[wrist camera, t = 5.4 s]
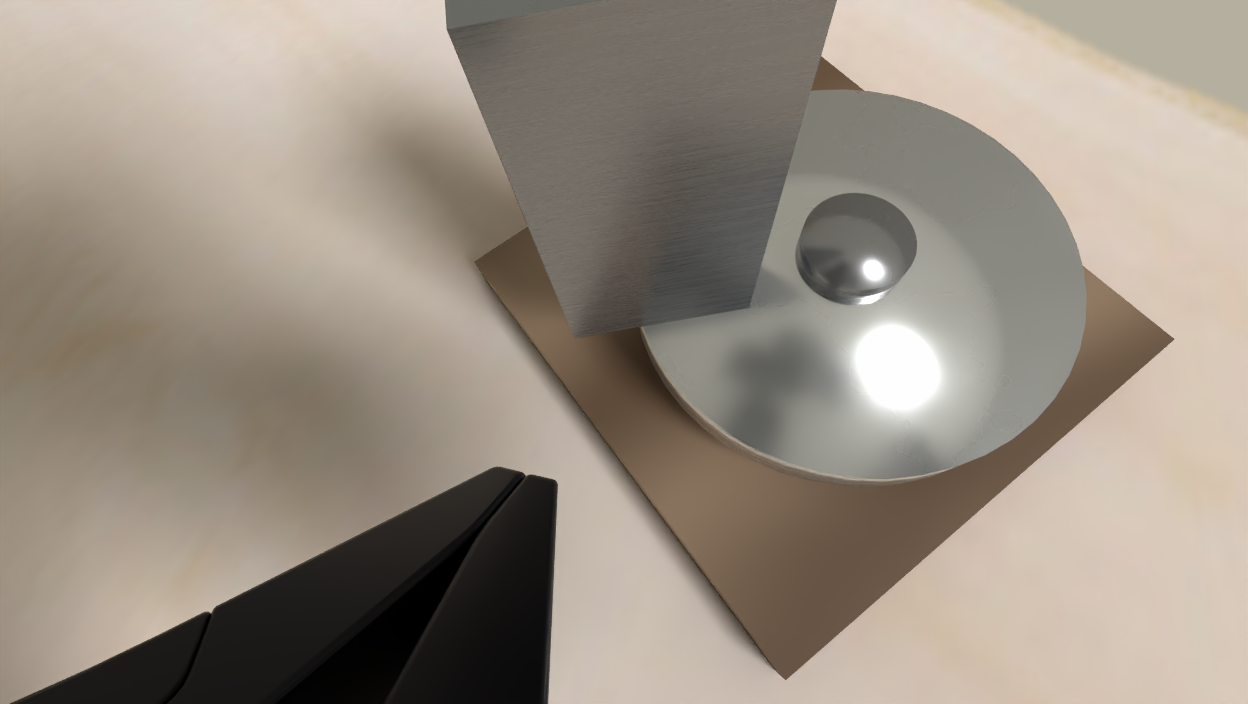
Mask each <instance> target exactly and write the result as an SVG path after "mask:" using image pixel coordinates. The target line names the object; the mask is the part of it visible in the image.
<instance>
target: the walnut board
mask: <svg viewBox="0 0 1248 704" xmlns="http://www.w3.org/2000/svg"><path fill="white" fill-rule="evenodd" d="M842 89H843V90H858V91H864V90H863V89H861V88H860V87H859V86H858V85H856V84H855V83H854V82H853V81H851V80H850V79H849V78H848V77H846V76H845V75H844V74H843V73H841V72H840V71H839V70H838V69H836V68H835V67H834V66H833V65H831V64H830V63H829V62H828V61H826V60H825V59H824V58H823V57H820V61H819V64H818V68H817V71H816V75H815V78H814V82H813V85H812V89H811V91H815V90H842ZM475 264H476V265H477V267H478V268H479V270H480V272H481V273H482V275H483V276H484V278H485V279H486V281H487V282H488V283H489V285H490V286H491V287H492V289H493V290H494V291H495V293H496V294H497V295H498V297H499V298H500V300H501V301H502V302H503V304H504V305H505V306H506V308H507V309H508V310H509V312H510V313H511V314H512V316H513V317H514V318H515V320H516V321H517V322H518V324H519V325H520V326H521V328H522V329H523V331H524V332H525V333H526V335H527V336H528V337H529V339H530V340H531V341H532V343H533V344H534V345H535V347H536V348H537V349H538V351H539V352H540V353H541V355H542V356H543V357H544V359H545V360H546V361H547V363H548V364H549V366H550V367H551V368H552V370H553V371H554V372H555V374H556V375H557V376H558V378H559V379H560V380H561V382H562V383H563V384H564V386H565V387H566V388H567V390H568V391H569V392H570V394H571V395H572V397H573V398H574V399H575V401H576V402H577V403H578V405H579V406H580V407H581V409H582V410H583V411H584V413H585V414H586V415H587V417H588V418H589V419H590V421H591V422H592V423H593V425H594V426H595V427H596V429H597V430H598V432H599V433H600V434H601V436H602V437H603V438H604V440H605V441H606V442H607V444H608V445H609V446H610V448H611V449H612V450H613V452H614V453H615V454H616V456H617V457H618V458H619V460H620V461H621V463H622V464H623V465H624V467H625V468H626V469H627V471H628V472H629V473H630V475H631V476H632V477H633V479H634V480H635V481H636V483H637V484H638V485H639V487H640V488H641V489H642V491H643V492H644V493H645V495H646V496H647V498H648V499H649V500H650V502H651V503H652V504H653V506H654V507H655V508H656V510H657V511H658V512H659V514H660V515H661V516H662V518H663V519H664V520H665V522H666V523H667V524H668V526H669V527H670V528H671V530H672V531H673V533H674V534H675V535H676V537H677V538H678V539H679V541H680V542H681V543H682V545H683V546H684V547H685V549H686V550H687V551H688V553H689V554H690V555H691V557H692V558H693V559H694V561H695V562H696V564H697V565H698V566H699V568H700V569H701V570H702V572H703V573H704V574H705V576H706V577H707V578H708V580H709V581H710V582H711V584H712V585H713V586H714V588H715V589H716V590H717V592H718V593H719V594H720V596H721V597H722V599H723V600H724V601H725V603H726V604H727V605H728V607H729V608H730V609H731V611H732V612H733V613H734V615H735V616H736V617H737V619H738V620H739V621H740V623H741V624H742V625H743V627H744V628H745V630H746V631H747V632H748V634H749V635H750V636H751V638H752V639H753V640H754V642H755V643H756V644H757V646H758V647H759V648H760V650H761V651H762V652H763V654H764V655H765V656H766V658H767V659H768V660H769V662H770V663H771V665H772V666H773V667H774V669H775V670H776V671H777V673H778V674H779V675H781V676H782V677H783V678H784V679H785V680H786V679H788V678H789V677H790V676H791V675H792V674H793V673H794V672H796V671H797V670H798V669H799V668H800V667H801V666H802V665H804V664H805V663H806V662H807V661H808V660H809V659H810V658H812V657H813V656H814V655H815V654H816V653H817V652H818V651H820V650H821V649H822V648H823V647H824V646H825V645H826V644H828V643H829V642H830V641H831V640H832V639H833V638H834V637H836V636H837V635H838V634H839V633H840V632H841V631H842V630H844V629H845V628H846V627H847V626H848V625H849V624H850V623H851V622H853V621H854V620H855V619H856V618H857V617H858V616H859V615H861V614H862V613H863V612H864V611H865V610H866V609H867V608H869V607H870V606H871V605H872V604H873V603H874V602H875V601H877V600H878V599H879V598H880V597H881V596H882V595H883V594H885V593H886V592H887V591H888V590H889V589H890V588H891V587H893V586H894V585H895V584H896V583H897V582H898V581H899V580H901V579H902V578H903V577H904V576H905V575H906V574H907V573H908V572H910V571H911V570H912V569H913V568H914V567H915V566H916V565H918V564H919V563H920V562H921V561H922V560H923V559H924V558H926V557H927V556H928V555H929V554H930V553H931V552H932V551H934V550H935V549H936V548H937V547H938V546H939V545H940V544H942V543H943V542H944V541H945V540H946V539H947V538H948V537H950V536H951V535H952V534H953V533H954V532H955V531H956V530H958V529H959V528H960V527H961V526H962V525H963V524H964V523H966V522H967V521H968V520H969V519H970V518H971V517H972V516H973V515H975V514H976V513H977V512H978V511H979V510H980V509H981V508H983V507H984V506H985V505H986V504H987V503H988V502H989V501H991V500H992V499H993V498H994V497H995V496H996V495H997V494H999V493H1000V492H1001V491H1002V490H1003V489H1004V488H1005V487H1007V486H1008V485H1009V484H1010V483H1011V482H1012V481H1013V480H1015V479H1016V478H1017V477H1018V476H1019V475H1020V474H1021V473H1023V472H1024V471H1025V470H1026V469H1027V468H1028V467H1029V466H1031V465H1032V464H1033V463H1034V462H1035V461H1036V460H1037V459H1038V458H1040V457H1041V456H1042V455H1043V454H1044V453H1045V452H1046V451H1048V450H1049V449H1050V448H1051V447H1052V446H1053V445H1054V444H1056V443H1057V442H1058V441H1059V440H1060V439H1061V438H1062V437H1064V436H1065V435H1066V434H1067V433H1068V432H1069V431H1070V430H1072V429H1073V428H1074V427H1075V426H1076V425H1077V424H1078V423H1080V422H1081V421H1082V420H1083V419H1084V418H1085V417H1086V416H1088V415H1089V414H1090V413H1091V412H1092V411H1093V410H1094V409H1096V408H1097V407H1098V406H1099V405H1100V404H1101V403H1102V402H1103V401H1105V400H1106V399H1107V398H1108V397H1109V396H1110V395H1111V394H1113V393H1114V392H1115V391H1116V390H1117V389H1118V388H1119V387H1121V386H1122V385H1123V384H1124V383H1125V382H1126V381H1127V380H1129V379H1130V378H1131V377H1132V376H1133V375H1134V374H1135V373H1137V372H1138V371H1139V370H1140V369H1141V368H1142V367H1143V366H1145V365H1146V364H1147V363H1148V362H1149V361H1150V360H1151V359H1153V358H1154V357H1155V356H1156V355H1157V354H1158V353H1159V352H1160V351H1162V350H1163V349H1164V348H1165V347H1166V346H1167V345H1168V344H1170V343H1171V342H1172V341H1173V340H1174V338H1172V337H1171V336H1170V335H1169V334H1167V333H1166V332H1165V331H1164V330H1162V329H1161V328H1160V327H1159V326H1157V325H1156V324H1155V323H1154V322H1152V321H1151V320H1150V319H1149V318H1147V317H1146V316H1145V315H1144V314H1142V313H1141V312H1140V311H1139V310H1137V309H1136V308H1135V307H1134V306H1132V305H1131V304H1130V303H1129V302H1127V301H1126V300H1125V299H1124V298H1122V297H1121V296H1120V295H1119V294H1117V293H1116V292H1115V291H1114V290H1112V289H1111V288H1110V287H1109V286H1107V285H1106V284H1105V283H1104V282H1102V281H1101V280H1100V279H1099V278H1097V277H1096V276H1095V275H1094V274H1092V273H1091V272H1090V271H1089V270H1087V269H1086V268H1085V267H1084V266H1083V269H1084V277H1085V286H1086V295H1087V300H1086V322H1085V327H1084V332H1083V337H1082V341H1081V346H1080V350H1079V353H1078V355H1077V357H1076V360H1075V362H1074V365H1073V367H1072V370H1071V372H1070V375H1069V376H1068V378H1067V380H1066V381H1065V383H1064V385H1063V386H1062V388H1061V389H1060V391H1059V393H1058V394H1057V396H1056V397H1055V399H1054V400H1053V401H1052V402H1051V403H1050V405H1049V406H1048V407H1047V408H1046V409H1045V410H1044V411H1043V413H1042V414H1041V415H1040V416H1039V417H1038V418H1037V419H1036V420H1035V421H1034V422H1033V423H1032V424H1031V425H1029V426H1028V427H1027V428H1026V429H1024V430H1023V431H1022V432H1021V433H1020V434H1018V435H1017V436H1016V437H1015V438H1013V439H1012V440H1010V441H1009V442H1007V443H1005V444H1004V445H1002V446H1000V447H998V448H997V449H995V450H993V451H992V452H990V453H988V454H986V455H984V456H982V457H979V458H977V459H974V460H972V461H969V462H967V463H964V464H962V465H959V466H957V467H954V468H952V469H949V470H947V471H944V472H941V473H939V474H936V475H934V476H931V477H927V478H923V479H919V480H915V481H911V482H907V483H902V484H894V485H884V486H875V487H859V486H837V485H831V484H824V483H818V482H812V481H807V480H804V479H800V478H797V477H793V476H790V475H786V474H783V473H779V472H777V471H775V470H772V469H770V468H768V467H765V466H763V465H761V464H758V463H756V462H754V461H751V460H750V459H748V458H746V457H745V456H743V455H741V454H739V453H738V452H736V451H734V450H732V449H731V448H729V447H727V446H726V445H724V444H723V443H722V442H720V441H719V440H718V439H716V438H715V437H714V436H712V435H711V434H710V433H709V432H707V431H706V430H705V429H703V428H702V427H701V426H700V425H699V424H698V423H697V422H696V421H695V420H694V419H693V418H692V417H691V416H690V415H689V414H688V413H687V412H686V411H685V410H684V409H683V408H682V407H681V406H680V404H679V403H678V402H677V400H676V399H675V398H674V397H673V395H672V394H671V393H670V392H669V390H668V389H667V388H666V386H665V385H664V383H663V381H662V379H661V378H660V376H659V374H658V373H657V371H656V369H655V368H654V366H653V364H652V362H651V359H650V357H649V354H648V352H647V350H646V347H645V345H644V342H643V339H642V336H641V332H640V328H639V327H638V328H632V329H627V330H621V331H615V332H610V333H604V334H598V335H593V336H587V337H581V338H576V339H574V337H573V335H572V332H571V330H570V327H569V325H568V322H567V320H566V318H565V315H564V313H563V310H562V308H561V305H560V303H559V301H558V298H557V296H556V293H555V291H554V288H553V286H552V284H551V281H550V279H549V276H548V274H547V271H546V269H545V267H544V264H543V262H542V259H541V257H540V254H539V252H538V250H537V247H536V245H535V242H534V240H533V237H532V235H531V233H530V230H529V228H528V227H527V228H525V229H524V230H522V231H521V232H519V233H518V234H516V235H515V236H513V237H512V238H510V239H509V240H507V241H506V242H504V243H502V244H501V245H499V246H498V247H496V248H495V249H493V250H492V251H490V252H489V253H487V254H486V255H484V256H483V257H481V258H480V259H478V260H477V261H475Z"/></svg>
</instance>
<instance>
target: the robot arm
mask: <svg viewBox="0 0 1248 704" xmlns="http://www.w3.org/2000/svg"><path fill="white" fill-rule="evenodd" d="M557 492H558V484H557V482H556V481H555V480H553V479H549V478H545V477H541V476H536V475H527V476H525V474H524V473H522V472H519V471H515V470H511V469H507V468H503V467H494V468H491V469H489V470H487V471H485V472H483V473H481V474H479V475H477V476H475V477H473V478H471V479H469V480H467V481H465V482H463V483H461V484H459V485H457V486H455V487H453V488H451V489H449V490H447V491H445V492H443V493H441V494H439V495H437V496H435V497H433V498H431V499H429V500H427V501H425V502H423V503H421V504H419V505H417V506H415V507H413V508H411V509H409V510H407V511H405V512H403V513H401V514H399V515H397V516H395V517H393V518H391V519H389V520H387V521H385V522H383V523H381V524H379V525H377V526H375V527H373V528H371V529H369V530H367V531H365V532H363V533H361V534H359V535H357V536H355V537H353V538H351V539H349V540H347V541H345V542H343V543H341V544H339V545H337V546H335V547H333V548H331V549H329V550H327V551H325V552H323V553H321V554H319V555H317V556H315V557H313V558H311V559H309V560H307V561H305V562H304V563H302V564H300V565H298V566H296V567H294V568H292V569H290V570H288V571H286V572H284V573H282V574H280V575H278V576H276V577H274V578H272V579H270V580H268V581H266V582H264V583H262V584H260V585H258V586H256V587H254V588H252V589H250V590H248V591H246V592H244V593H242V594H240V595H238V596H236V597H234V598H232V599H230V600H228V601H226V602H224V603H222V604H220V605H218V606H216V607H215V608H214V609H213V611H212V614H211V613H210V612H203V613H201V614H199V615H197V616H195V617H193V618H191V619H189V620H187V621H185V622H183V623H181V624H179V625H177V626H175V627H173V628H171V629H169V630H167V631H165V632H163V633H161V634H159V635H157V636H155V637H153V638H151V639H149V640H147V641H145V642H143V643H141V644H139V645H136V646H134V647H132V648H130V649H128V650H126V651H124V652H122V653H120V654H118V655H116V656H114V657H112V658H109V659H107V660H105V661H103V662H101V663H99V664H97V665H95V666H93V667H91V668H89V669H86V670H84V671H82V672H80V673H77V674H75V675H73V676H71V677H68V678H66V679H64V680H62V681H59V682H57V683H55V684H53V685H51V686H48V687H46V688H44V689H42V690H39V691H37V692H35V693H33V694H30V695H28V696H26V697H24V698H21V699H19V700H17V701H15V702H12V703H10V704H548V694H549V672H550V649H551V627H552V604H553V582H554V559H555V537H556V514H557Z"/></svg>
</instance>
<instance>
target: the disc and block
mask: <svg viewBox="0 0 1248 704" xmlns="http://www.w3.org/2000/svg"><path fill="white" fill-rule="evenodd" d="M836 1H837V0H445V8H446V24H447V31H448V33H449V36H450V38H451V41H452V43H453V46H454V48H455V50H456V53H457V55H458V58H459V60H460V63H461V65H462V67H463V70H464V72H465V75H466V77H467V80H468V82H469V84H470V87H471V89H472V92H473V94H474V97H475V99H476V101H477V104H478V106H479V109H480V111H481V114H482V116H483V118H484V121H485V123H486V126H487V128H488V131H489V133H490V135H491V138H492V140H493V143H494V145H495V148H496V150H497V152H498V155H499V157H500V160H501V162H502V165H503V167H504V169H505V172H506V174H507V177H508V179H509V182H510V184H511V186H512V189H513V191H514V194H515V196H516V199H517V201H518V203H519V206H520V208H521V211H522V213H523V216H524V218H525V220H526V223H527V225H528V228H529V230H530V233H531V235H532V237H533V240H534V242H535V245H536V247H537V250H538V252H539V254H540V257H541V259H542V262H543V264H544V267H545V269H546V271H547V274H548V276H549V279H550V281H551V284H552V286H553V288H554V291H555V293H556V296H557V298H558V301H559V303H560V305H561V308H562V310H563V313H564V315H565V318H566V320H567V322H568V325H569V327H570V330H571V332H572V335H573V337H574V339H576V338H581V337H587V336H593V335H598V334H604V333H610V332H615V331H621V330H627V329H632V328H638V327H639V328H640V332H641V336H642V339H643V342H644V345H645V347H646V350H647V352H648V354H649V357H650V359H651V362H652V364H653V366H654V368H655V369H656V371H657V373H658V374H659V376H660V378H661V379H662V381H663V383H664V385H665V386H666V388H667V389H668V390H669V392H670V393H671V394H672V395H673V397H674V398H675V399H676V400H677V402H678V403H679V404H680V406H681V407H682V408H683V409H684V410H685V411H686V412H687V413H688V414H689V415H690V416H691V417H692V418H693V419H694V420H695V421H696V422H697V423H698V424H699V425H700V426H701V427H702V428H703V429H705V430H706V431H707V432H709V433H710V434H711V435H712V436H714V437H715V438H716V439H718V440H719V441H720V442H722V443H723V444H724V445H726V446H727V447H729V448H731V449H732V450H734V451H736V452H738V453H739V454H741V455H743V456H745V457H746V458H748V459H750V460H751V461H754V462H756V463H758V464H761V465H763V466H765V467H768V468H770V469H772V470H775V471H777V472H779V473H783V474H786V475H790V476H793V477H797V478H800V479H804V480H807V481H812V482H818V483H824V484H831V485H837V486H859V487H875V486H884V485H894V484H902V483H907V482H911V481H915V480H919V479H923V478H927V477H931V476H934V475H936V474H939V473H941V472H944V471H947V470H949V469H952V468H954V467H957V466H959V465H962V464H964V463H967V462H969V461H972V460H974V459H977V458H979V457H982V456H984V455H986V454H988V453H990V452H992V451H993V450H995V449H997V448H998V447H1000V446H1002V445H1004V444H1005V443H1007V442H1009V441H1010V440H1012V439H1013V438H1015V437H1016V436H1017V435H1018V434H1020V433H1021V432H1022V431H1023V430H1024V429H1026V428H1027V427H1028V426H1029V425H1031V424H1032V423H1033V422H1034V421H1035V420H1036V419H1037V418H1038V417H1039V416H1040V415H1041V414H1042V413H1043V411H1044V410H1045V409H1046V408H1047V407H1048V406H1049V405H1050V403H1051V402H1052V401H1053V400H1054V399H1055V397H1056V396H1057V394H1058V393H1059V391H1060V389H1061V388H1062V386H1063V385H1064V383H1065V381H1066V380H1067V378H1068V376H1069V375H1070V372H1071V370H1072V367H1073V365H1074V362H1075V360H1076V357H1077V355H1078V353H1079V350H1080V346H1081V341H1082V337H1083V332H1084V327H1085V322H1086V300H1087V295H1086V286H1085V277H1084V269H1083V266H1082V262H1081V258H1080V255H1079V251H1078V248H1077V244H1076V242H1075V239H1074V237H1073V235H1072V232H1071V230H1070V228H1069V226H1068V223H1067V221H1066V219H1065V217H1064V216H1063V214H1062V212H1061V211H1060V209H1059V207H1058V206H1057V204H1056V202H1055V201H1054V199H1053V198H1052V196H1051V195H1050V193H1049V192H1048V191H1047V190H1046V188H1045V187H1044V186H1043V185H1042V183H1041V182H1040V181H1039V180H1038V178H1037V177H1036V176H1035V175H1034V174H1033V173H1032V172H1031V171H1030V170H1029V169H1028V168H1027V167H1026V166H1025V165H1024V164H1023V163H1022V162H1021V161H1020V160H1019V159H1018V158H1017V157H1016V156H1015V155H1014V154H1013V153H1011V152H1010V151H1009V150H1007V149H1006V148H1005V147H1004V146H1002V145H1001V144H1000V143H999V142H997V141H996V140H995V139H993V138H992V137H990V136H989V135H987V134H985V133H984V132H982V131H981V130H979V129H978V128H976V127H974V126H973V125H971V124H969V123H967V122H965V121H963V120H961V119H959V118H957V117H955V116H953V115H951V114H949V113H947V112H945V111H942V110H939V109H937V108H934V107H931V106H929V105H926V104H923V103H921V102H917V101H913V100H909V99H906V98H902V97H898V96H894V95H888V94H882V93H876V92H870V91H858V90H843V89H842V90H815V91H811V89H812V85H813V82H814V78H815V75H816V71H817V68H818V64H819V61H820V57H821V54H822V50H823V47H824V43H825V40H826V36H827V33H828V29H829V26H830V22H831V19H832V15H833V12H834V8H835V5H836Z"/></svg>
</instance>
